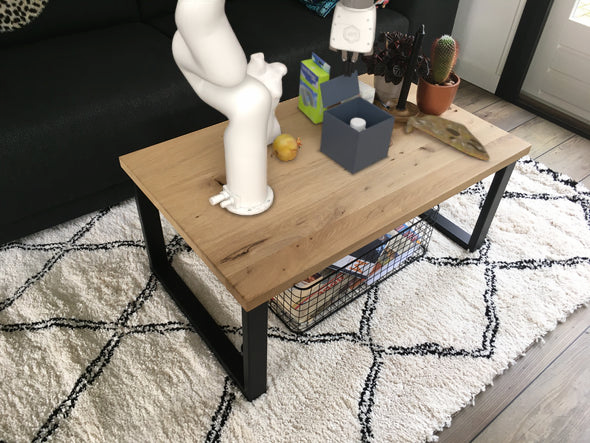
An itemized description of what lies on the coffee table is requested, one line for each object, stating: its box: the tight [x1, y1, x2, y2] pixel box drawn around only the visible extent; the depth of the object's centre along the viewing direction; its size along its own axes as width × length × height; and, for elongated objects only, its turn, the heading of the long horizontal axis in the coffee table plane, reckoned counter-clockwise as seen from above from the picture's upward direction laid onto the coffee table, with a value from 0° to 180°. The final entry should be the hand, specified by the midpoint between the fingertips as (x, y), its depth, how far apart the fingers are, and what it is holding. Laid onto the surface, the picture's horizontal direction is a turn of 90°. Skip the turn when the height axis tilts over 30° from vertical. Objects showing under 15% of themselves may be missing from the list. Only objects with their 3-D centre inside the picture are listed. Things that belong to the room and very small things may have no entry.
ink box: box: [340, 79, 376, 104], centre depth 145 cm, size 8×5×12 cm, turn 39°
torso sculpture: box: [247, 52, 288, 146], centre depth 131 cm, size 18×10×25 cm, turn 124°
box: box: [298, 52, 331, 125], centre depth 145 cm, size 10×4×17 cm, turn 29°
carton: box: [319, 96, 396, 175], centre depth 133 cm, size 13×13×12 cm
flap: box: [320, 69, 360, 109], centre depth 130 cm, size 13×6×1 cm
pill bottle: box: [350, 118, 366, 132], centre depth 133 cm, size 5×5×10 cm
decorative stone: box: [404, 114, 491, 161], centre depth 144 cm, size 25×15×5 cm, turn 51°
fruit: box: [270, 133, 303, 162], centre depth 132 cm, size 7×7×10 cm
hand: (348, 74), depth 126 cm, fingers closed
